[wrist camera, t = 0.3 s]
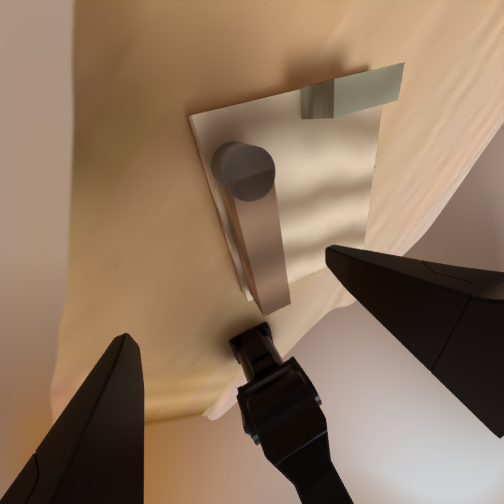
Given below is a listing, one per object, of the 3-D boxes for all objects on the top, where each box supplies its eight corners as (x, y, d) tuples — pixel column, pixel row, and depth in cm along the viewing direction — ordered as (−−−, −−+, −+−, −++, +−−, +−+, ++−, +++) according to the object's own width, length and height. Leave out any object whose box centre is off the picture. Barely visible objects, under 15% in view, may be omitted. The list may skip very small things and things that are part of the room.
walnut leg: (205, 148, 16) (218, 154, 13) (248, 136, 17) (271, 139, 14) (247, 292, 25) (262, 317, 22) (274, 280, 26) (292, 302, 23)
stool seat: (352, 243, 32) (388, 264, 27) (242, 292, 28) (261, 326, 23) (368, 71, 20) (435, 55, 16) (187, 114, 17) (201, 110, 12)
